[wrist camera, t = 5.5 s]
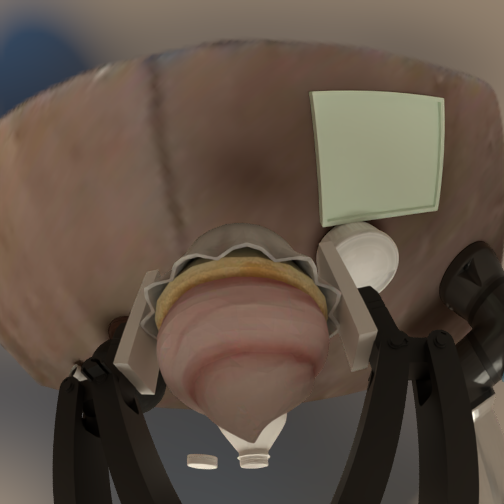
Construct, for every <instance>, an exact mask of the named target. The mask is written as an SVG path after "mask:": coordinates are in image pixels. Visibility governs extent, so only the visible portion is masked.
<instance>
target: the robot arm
mask: <svg viewBox="0 0 504 504" xmlns="http://www.w3.org/2000/svg"><path fill="white" fill-rule="evenodd" d="M319 272H320V278H321V279H323V280H324V281H326V282H327V283H329V284H330V285H332V286H333V287H335V288H336V289H337V290H339V291H340V292H341V298H340V302H339V303H338V305H337V307H336V308H335V310H334V312H333V313H332V315H333V316H334V318H335V319H336V320H337V321H338V323H339V324H340V329H339V332H338V333H339V336H340V338H341V341H342V344H343V347H344V350H345V353H346V356H347V359H348V362H349V365H350V368H351V371H352V372H353V371H357V370H360V369H364V368H367V366H368V363H369V362H370V365H371V367H372V371H371V374H370V376H369V379H368V381H369V384H368V388H367V393H366V397H365V402H364V406H363V410H362V413H361V417H360V421H359V425H358V428H357V432H356V435H355V438H354V442H353V445H352V448H351V451H350V454H349V457H348V460H347V463H346V466H345V468H344V471H343V474H342V477H341V479H340V482H339V484H338V487H337V489H336V492H335V494H334V497H333V499H332V501H331V504H380V503H381V500H382V497H383V494H384V491H385V488H386V485H387V482H388V479H389V475H390V472H391V468H392V464H393V461H394V457H395V453H396V448H397V444H398V440H399V435H400V430H401V425H402V419H403V414H404V408H405V401H406V394H407V386H408V380H412V386H413V393H414V400H415V408H416V418H417V429H418V444H419V503H418V504H504V434H503V432H502V429H501V427H500V424H499V422H498V419H497V417H496V415H495V412H494V410H493V405H494V401H495V398H496V394H495V392H494V390H493V386H494V385H495V384H496V383H497V382H498V381H500V380H502V381H503V382H504V271H503V268H502V266H501V264H500V262H499V260H498V258H497V257H496V254H495V252H494V250H493V249H492V248H491V247H490V246H489V245H488V244H486V243H485V242H476V243H474V244H472V245H470V246H468V247H467V248H465V249H464V250H463V251H462V252H461V253H460V254H459V255H458V256H457V257H456V258H455V259H454V261H453V262H452V263H451V265H450V266H449V268H448V269H447V271H446V273H445V275H444V277H443V279H442V282H441V285H440V298H441V300H442V301H443V302H444V304H445V305H446V306H447V307H448V308H449V309H450V310H453V311H454V312H455V313H457V314H458V315H459V316H461V317H462V318H464V319H465V320H467V322H468V323H469V324H470V326H471V327H472V330H471V331H470V332H469V333H468V334H467V335H466V336H465V337H464V338H463V339H461V340H460V341H459V342H458V343H457V344H456V345H455V343H454V340H453V338H452V336H451V335H450V334H449V333H448V332H446V331H444V330H434V331H432V332H431V333H430V334H429V336H428V338H413V337H408V335H407V334H405V333H404V332H402V331H399V329H398V328H397V326H396V324H395V322H394V320H393V319H392V317H391V315H390V313H389V311H388V309H387V308H386V307H385V304H384V302H383V301H382V299H381V297H380V295H379V293H378V292H377V291H376V290H375V289H374V288H372V287H371V286H365V287H361V288H357V287H356V285H355V283H354V281H353V279H352V277H351V275H350V274H349V272H348V270H347V268H346V266H345V264H344V262H343V261H342V259H341V257H340V255H339V253H338V251H337V250H336V248H335V246H334V244H333V243H332V241H329V242H323V243H319ZM160 277H161V275H160V273H159V271H158V270H154V271H148V272H146V275H145V277H144V280H143V282H142V285H141V287H140V290H139V292H138V295H137V297H136V300H135V302H134V305H133V308H132V310H131V313H130V316H129V318H128V321H127V322H126V323H121V324H120V325H119V326H118V327H117V329H116V330H115V333H114V335H113V339H112V341H111V343H110V344H111V345H110V346H109V349H108V352H107V355H106V358H105V361H103V360H102V359H101V358H100V357H97V356H94V357H90V358H89V359H87V360H86V361H85V362H84V363H83V365H82V367H81V373H82V374H83V375H84V376H85V377H86V378H87V379H86V380H83V381H79V380H78V379H77V378H75V377H74V376H70V377H67V378H66V379H64V380H63V382H62V383H61V385H60V389H59V396H58V402H57V410H56V419H55V429H54V444H53V496H54V504H112V498H111V490H110V480H109V470H110V473H111V476H112V479H113V482H114V485H115V488H116V491H117V494H118V496H119V499H120V501H121V504H182V503H181V501H180V499H179V497H178V495H177V494H176V492H175V490H174V488H173V486H172V484H171V482H170V479H169V477H168V475H167V473H166V471H165V469H164V467H163V464H162V462H161V460H160V457H159V455H158V453H157V450H156V448H155V445H154V443H153V440H152V438H151V435H150V432H149V430H148V427H147V424H146V421H145V419H144V416H143V413H142V410H141V407H140V403H139V400H138V398H137V397H136V395H135V391H136V389H137V390H138V391H139V392H140V393H141V394H151V395H155V389H156V384H157V378H158V373H159V364H158V359H157V340H156V339H155V338H153V337H152V336H151V335H149V334H148V333H146V332H145V331H144V330H143V329H142V327H141V326H140V323H141V321H142V320H143V319H144V317H145V316H146V315H147V314H148V313H149V311H150V310H151V309H150V307H149V305H148V303H147V301H146V299H145V295H144V288H145V287H147V286H148V285H149V284H151V283H152V282H154V281H155V280H157V279H158V278H160ZM82 413H83V418H82ZM108 467H109V469H108Z"/></svg>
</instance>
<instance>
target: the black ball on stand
mask: <svg viewBox="0 0 504 504" xmlns="http://www.w3.org/2000/svg"><path fill="white" fill-rule="evenodd" d="M128 318H129V316H124V317H119V318H116V319H115V320H113V321H112V322H111V324H110V326H109V330H108V334H109V337H110V340H108V341H106V342H104V343H103V344H101V345H100V346H99V347H98V348H97V350H96V351H95V352H94V354H93V356H92V357H94V356H97V357H100V358H101V359H102V360H103V361H105V358H106V355H107V352H108V349H109V346H110V345H111V344H110V343H111V341H112V339H113V335H114V333H115V330H116V329H117V327H118V326H119V325H120V324H121V323H126V322H127V321H128ZM165 389H166V383H165V381H164V379H163V376H162V374H161V371H160V368H159V373H158V378H157V384H156V389H155V395H151V394H141V393H140V392H139V391H138V390H137V389H136V391H135V395H136V397H137V398H138V400H139V403H140V407H141V410H142V413H145V412H147V411H149V410H151V409H152V408H154V407H155V406H156V405H157V404H158V403H159V402H160V401H161V399H162V397H163V395H164V393H165Z"/></svg>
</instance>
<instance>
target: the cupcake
mask: <svg viewBox="0 0 504 504" xmlns="http://www.w3.org/2000/svg"><path fill="white" fill-rule="evenodd" d="M144 295H145V299H146V301H147V303H148V305H149V307H150V309H151V310H150V311H149V313H148V314H147V315H146V316H145V317H144V319H143V320H142V321H141V323H140V326H141V327H142V329H143V330H144V331H145V332H146V333H148V334H149V335H151V336H152V337H153V338H155V339H156V340H157V359H158V364H159V368H160V371H161V374H162V376H163V379H164V381H165V383H166V385H167V386H168V388H169V389H170V391H171V392H172V393H173V394H174V395H175V396H176V397H177V398H178V399H179V400H181V401H182V402H183V403H184V404H186V405H187V406H188V407H190V408H192V409H194V410H195V411H197V412H199V413H201V414H204V415H206V416H207V417H208V418H209V419H210V420H211V421H213V422H214V423H215V424H216V425H218V426H219V427H221V428H222V429H224V430H226V431H227V432H229V433H231V434H233V435H235V436H237V437H239V438H241V439H243V440H245V441H247V442H249V443H255V442H256V440H257V439H258V437H259V435H260V434H261V432H262V431H263V430H264V428H265V427H266V426H267V425H268V424H270V423H271V422H272V421H273V420H275V419H277V418H278V417H280V416H282V415H283V414H285V413H287V412H289V411H291V410H292V409H293V408H295V407H296V406H298V405H299V404H300V403H302V402H303V401H304V400H305V399H307V398H308V396H309V395H310V394H311V393H312V390H313V386H314V380H315V377H316V376H317V375H318V374H319V373H320V371H321V370H322V369H323V367H324V364H325V362H326V359H327V356H328V350H329V338H331V337H332V336H334V335H335V334H337V333H338V332H339V329H340V324H339V323H338V321H337V320H336V319H335V318H334V316H333V315H332V313H333V312H334V310H335V308H336V307H337V305H338V303H339V302H340V298H341V292H340V291H339V290H337V289H336V288H335V287H333V286H332V285H330V284H329V283H327V282H326V281H324V280H323V279H321V278H320V277H318V275H317V268H316V265H315V263H314V262H313V260H312V259H311V258H310V257H308V256H305V255H303V254H300V253H297V252H295V251H294V250H293V249H292V248H291V246H290V245H289V244H288V243H287V242H286V241H285V240H284V239H283V238H282V237H280V236H279V235H278V234H276V233H275V232H273V231H271V230H269V229H267V228H265V227H262V226H260V225H255V224H247V223H234V224H225V225H222V226H219V227H217V228H214V229H212V230H210V231H208V232H206V233H205V234H203V235H202V236H200V237H199V238H198V239H197V240H196V241H195V242H194V244H193V245H192V246H191V247H190V249H189V250H188V251H187V252H186V254H185V255H184V256H183V257H182V258H181V259H179V260H178V261H177V262H176V263H174V265H173V268H172V270H170V271H169V272H167V273H166V274H164V275H163V276H161V277H160V278H158V279H157V280H155V281H154V282H152V283H151V284H149V285H148V286H147V287H145V288H144Z"/></svg>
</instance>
